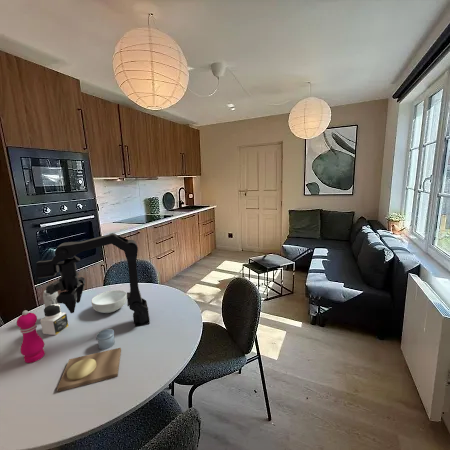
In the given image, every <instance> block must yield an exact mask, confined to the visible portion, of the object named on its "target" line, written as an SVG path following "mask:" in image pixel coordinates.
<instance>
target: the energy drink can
mask: <svg viewBox="0 0 450 450" xmlns="http://www.w3.org/2000/svg"><path fill="white" fill-rule="evenodd" d="M58 295H59V291H57V292H55V293H53V294H52V295H50V294H48V293H46V289H45V290H44V291H43V294H42V299H43V304H44V309H45V308H46V307H47V306H49V305H52V304H59V305H60V309H61V310H62V308H61V303H57V301H56V298H57V297H58Z"/></svg>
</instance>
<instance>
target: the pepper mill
mask: <svg viewBox="0 0 450 450" xmlns="http://www.w3.org/2000/svg"><path fill="white" fill-rule="evenodd" d="M37 320H38V316H37V315H36V313H34V312H29V311H28V310H23V311H22V314H21V315H19V317H18V318H17V319H16V325H17V327H18V328H19V330H20V333H21V334H22V343H21V345H20V353H21V355H22V356H23V359H24V362H25V363H26V364H32V363H35V362H37V361H39V360H41V359H42V358H44V356H45V354H46V353H45V349H44V347H45V341H44V340H43V338H42V337H41V336H40V334H38V331H37V327H38V325H37V324H38V323H37Z"/></svg>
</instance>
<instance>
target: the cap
mask: <svg viewBox="0 0 450 450" xmlns="http://www.w3.org/2000/svg"><path fill="white" fill-rule="evenodd" d="M96 340H97V344H98V349H99V350H101V351H102V350H107V349H108V350H109V349H110V348H112V347H113V346H114V345H115V343H116V341H115V331H114V329H113V328H107V329H104V330H101V331H100V332H98V333H97V335H96Z"/></svg>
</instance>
